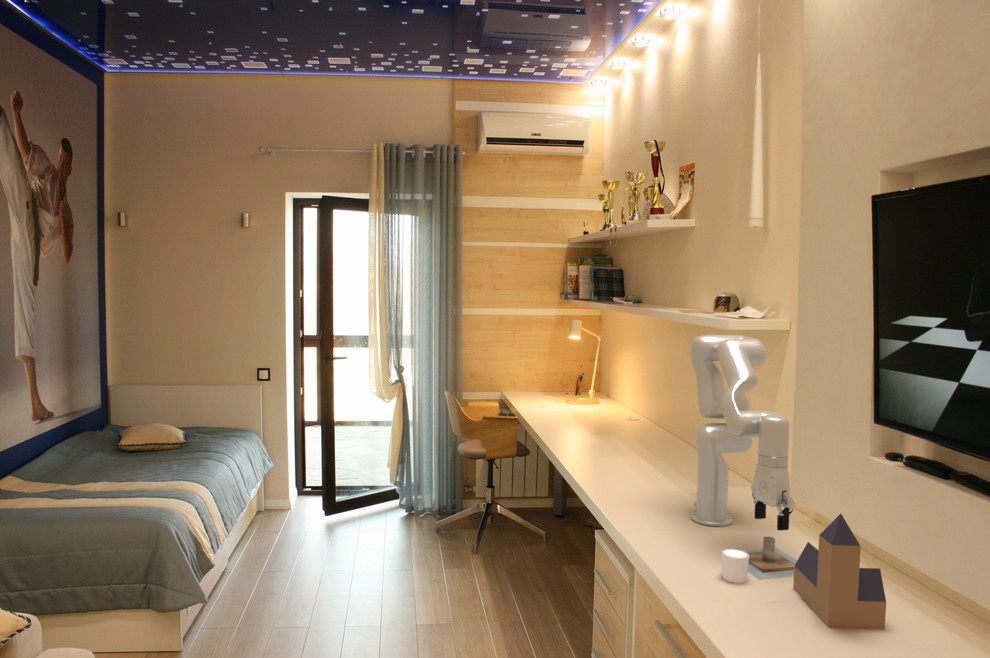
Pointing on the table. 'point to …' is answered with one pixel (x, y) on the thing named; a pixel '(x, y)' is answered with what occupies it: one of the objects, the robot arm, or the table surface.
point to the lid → (769, 558)
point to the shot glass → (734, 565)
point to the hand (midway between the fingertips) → (771, 524)
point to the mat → (770, 575)
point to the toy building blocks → (840, 581)
